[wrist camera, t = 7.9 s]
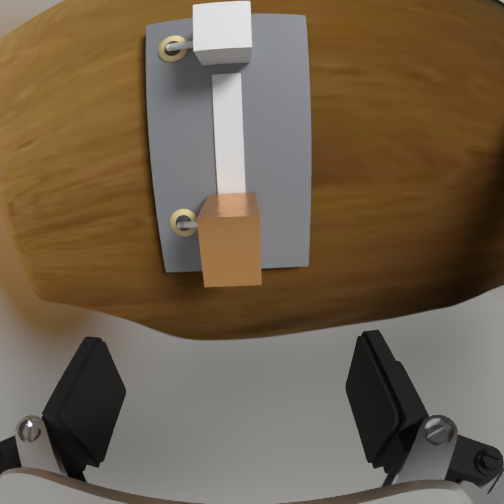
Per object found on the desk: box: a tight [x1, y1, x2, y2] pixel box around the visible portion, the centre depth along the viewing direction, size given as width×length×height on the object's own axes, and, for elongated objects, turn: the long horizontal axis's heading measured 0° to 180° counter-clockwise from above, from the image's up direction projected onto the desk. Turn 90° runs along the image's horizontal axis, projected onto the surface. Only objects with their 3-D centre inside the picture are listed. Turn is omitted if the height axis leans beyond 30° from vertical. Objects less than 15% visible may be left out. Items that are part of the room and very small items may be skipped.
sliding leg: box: [177, 192, 262, 287], centre depth 23 cm, size 7×5×7 cm
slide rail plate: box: [146, 1, 311, 272], centre depth 22 cm, size 14×24×6 cm, turn 2°
